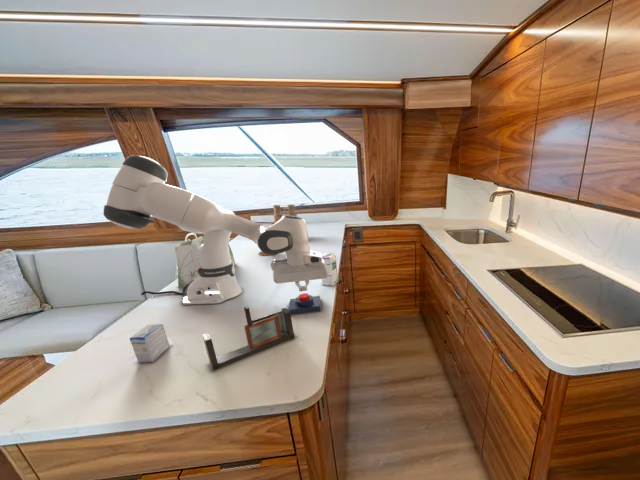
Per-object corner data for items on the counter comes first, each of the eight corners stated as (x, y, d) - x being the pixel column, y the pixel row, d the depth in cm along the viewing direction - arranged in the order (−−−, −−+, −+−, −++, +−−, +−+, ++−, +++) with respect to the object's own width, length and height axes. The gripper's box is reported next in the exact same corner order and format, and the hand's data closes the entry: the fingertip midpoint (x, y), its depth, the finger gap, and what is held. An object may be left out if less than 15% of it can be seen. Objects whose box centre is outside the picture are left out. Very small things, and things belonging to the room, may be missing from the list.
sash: (249, 350, 91) (241, 310, 86) (248, 348, 91) (240, 308, 87) (282, 337, 97) (275, 299, 92) (280, 335, 98) (274, 298, 93)
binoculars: (303, 235, 236) (299, 203, 227) (300, 238, 226) (295, 205, 218) (277, 236, 235) (272, 204, 226) (272, 239, 225) (267, 206, 217)
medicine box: (156, 347, 96) (148, 323, 93) (170, 346, 96) (163, 323, 93) (137, 363, 88) (128, 338, 85) (153, 362, 89) (144, 337, 86)
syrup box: (333, 285, 141) (330, 256, 136) (322, 285, 142) (319, 256, 137) (338, 281, 146) (335, 253, 141) (327, 280, 147) (324, 252, 142)
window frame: (213, 370, 85) (205, 340, 81) (210, 364, 87) (202, 335, 84) (294, 338, 100) (290, 311, 96) (289, 333, 102) (285, 307, 99)
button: (298, 302, 117) (298, 298, 116) (299, 297, 121) (298, 294, 120) (309, 300, 118) (308, 296, 117) (309, 296, 121) (308, 292, 121)
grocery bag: (212, 264, 172) (202, 225, 164) (236, 264, 173) (228, 224, 165) (176, 287, 142) (163, 240, 134) (207, 285, 143) (195, 239, 135)
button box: (288, 315, 114) (287, 305, 113) (290, 303, 124) (289, 295, 122) (320, 311, 117) (319, 302, 116) (320, 300, 126) (319, 291, 125)
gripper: (268, 262, 108) (274, 296, 113) (326, 257, 113) (329, 290, 118) (271, 257, 114) (276, 290, 119) (325, 252, 119) (328, 284, 123)
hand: (303, 290), depth 118 cm, fingers closed
